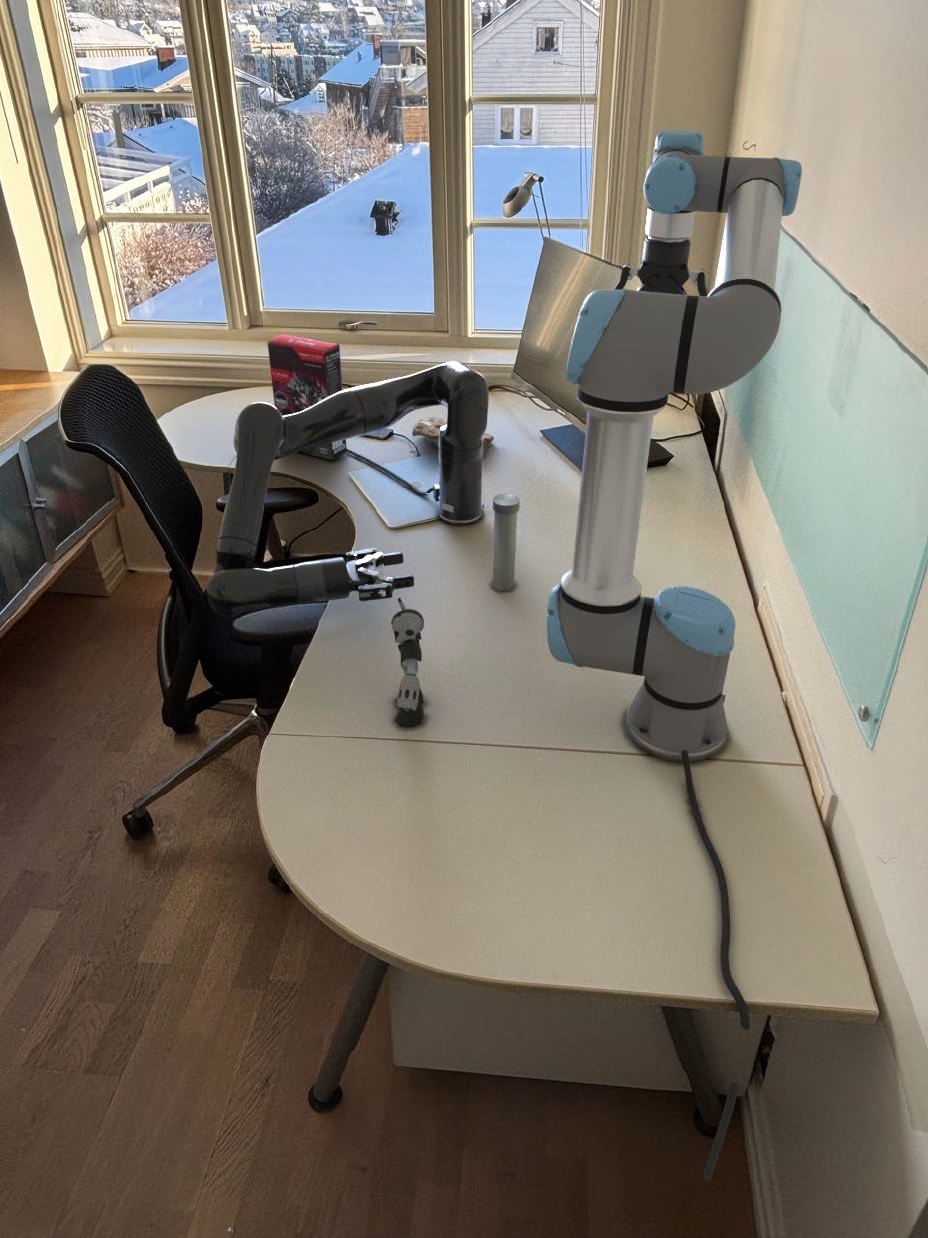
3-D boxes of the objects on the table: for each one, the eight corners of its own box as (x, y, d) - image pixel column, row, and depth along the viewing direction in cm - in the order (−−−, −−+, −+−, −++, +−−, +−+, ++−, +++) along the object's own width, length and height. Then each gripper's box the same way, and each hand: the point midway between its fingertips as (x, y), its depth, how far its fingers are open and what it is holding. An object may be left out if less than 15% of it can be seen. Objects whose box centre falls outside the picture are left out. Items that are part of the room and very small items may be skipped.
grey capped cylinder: (488, 584, 179) (490, 500, 169) (505, 578, 181) (508, 494, 171) (500, 593, 176) (503, 508, 166) (518, 587, 178) (522, 503, 168)
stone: (396, 441, 228) (401, 417, 225) (415, 432, 241) (420, 409, 239) (476, 465, 224) (482, 442, 222) (491, 455, 237) (496, 432, 235)
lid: (487, 507, 169) (487, 497, 168) (508, 500, 172) (509, 491, 171) (503, 517, 166) (503, 507, 165) (524, 510, 168) (525, 501, 167)
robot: (426, 751, 138) (424, 643, 127) (394, 752, 138) (389, 643, 127) (424, 672, 155) (422, 570, 143) (395, 673, 154) (391, 570, 143)
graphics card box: (276, 448, 231) (264, 340, 216) (293, 439, 236) (282, 332, 221) (333, 462, 225) (324, 351, 209) (349, 452, 230) (341, 343, 214)
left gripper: (316, 578, 174) (400, 567, 178) (328, 619, 163) (417, 606, 167) (313, 543, 170) (399, 532, 174) (325, 583, 159) (416, 570, 162)
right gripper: (746, 237, 151) (725, 364, 163) (595, 227, 157) (585, 351, 169) (745, 247, 145) (723, 378, 157) (588, 236, 151) (578, 364, 163)
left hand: (408, 568), depth 170 cm, fingers open, 8 cm apart
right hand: (652, 364), depth 163 cm, fingers open, 13 cm apart
